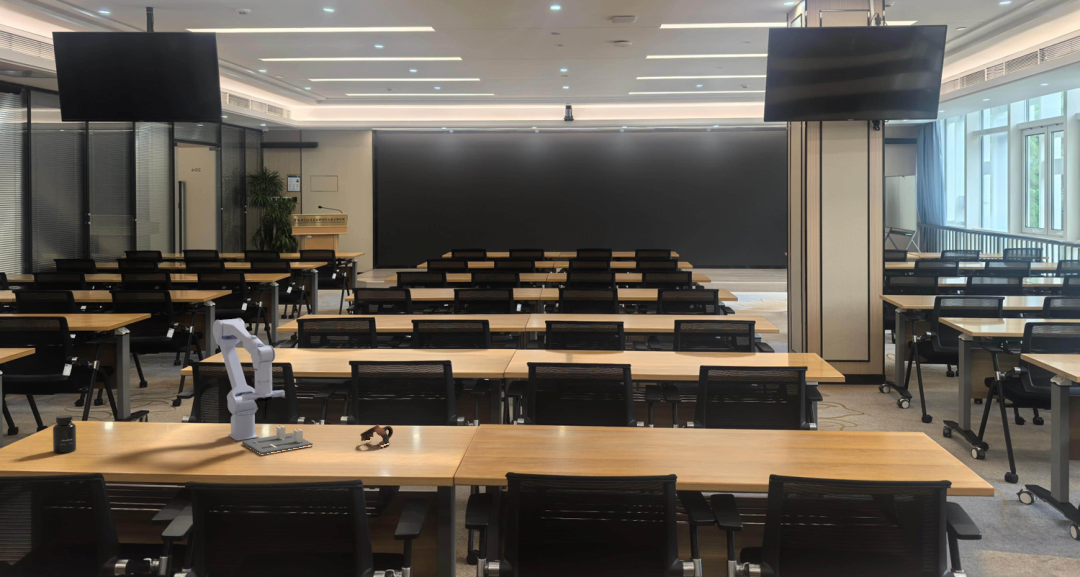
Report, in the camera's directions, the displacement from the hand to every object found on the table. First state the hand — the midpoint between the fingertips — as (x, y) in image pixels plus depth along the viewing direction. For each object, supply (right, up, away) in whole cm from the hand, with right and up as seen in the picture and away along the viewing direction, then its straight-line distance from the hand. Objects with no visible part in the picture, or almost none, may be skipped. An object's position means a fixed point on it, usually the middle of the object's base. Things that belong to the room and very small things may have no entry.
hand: (264, 418), depth 287 cm
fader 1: (+5, -8, +4) cm, 10 cm away
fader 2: (+12, -8, 0) cm, 14 cm away
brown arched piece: (+40, -10, +2) cm, 41 cm away
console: (+5, -9, 0) cm, 11 cm away
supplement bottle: (-64, -10, -10) cm, 66 cm away
